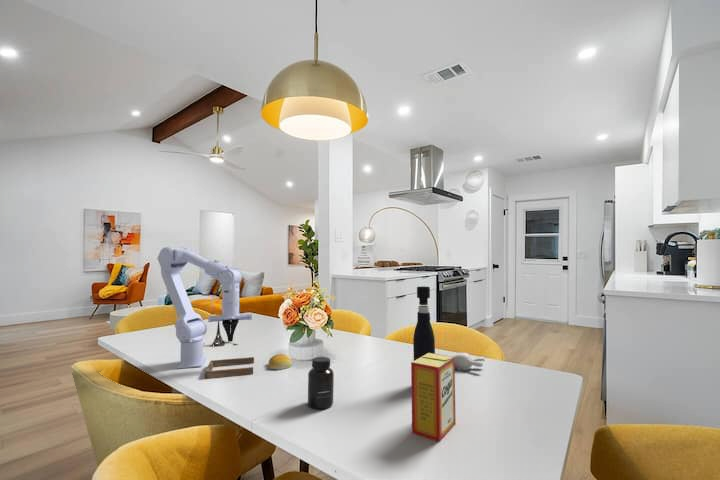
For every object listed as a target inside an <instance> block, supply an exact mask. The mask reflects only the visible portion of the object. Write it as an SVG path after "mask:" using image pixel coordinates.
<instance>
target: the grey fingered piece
mask: <svg viewBox="0 0 720 480" xmlns="http://www.w3.org/2000/svg"><path fill="white" fill-rule="evenodd" d="M445 355H446V356H451V357H454V362H455V370H458V371H468V370H469V369H470V368H472V366H474V367H481V368H482V367H484V364H483V363H484V362H485V357H483V356H478V357H473V358H472V357H471V355H470V354H469V353H467V352H458V353H455V354H449V353H446V354H445Z"/></svg>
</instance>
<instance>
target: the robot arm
mask: <svg viewBox="0 0 720 480" xmlns="http://www.w3.org/2000/svg"><path fill="white" fill-rule="evenodd" d="M157 261H158V264H159V267H160V274H161V277H162V281H163V282H164V285H165V287H166V291H167V293H168V295H169V298H170V300H171V302H172V305H173V308H174V310H175V313H176V315H177V317H178V318H177V319H176V322H174V327H175V336H176V338H177V339H178V341H179V343H180V363H179V364H178V366H177V369H186V368H187V369H188V368H199V367H202V366H203V364H204V363H205V361H206V357H204V355H203V354H204V353H203V351H204V349H203V348H204V345H203V344H204V342H203V339H204V335H206V334H207V331H208V325H207V323H206V321H205V320H203V317H202V316H201V314H199V313H197V312H195V311H194V308H193V306H192V303H191V300H190V299H189V296H188V293H187V290H186V288H185V286H184V284H183V281H182V278H181V276H180V273H181V271H182V270H183V269H184V268H185V267H186V265H187V264H188V263H190V264H191V265H194V266H196V267H199V268H200V269H202V270H204V271H203V272H204V273H205V274H206V275H208V276H209V277H212V278H214V279H216V280H217V281H218V282H219V284H220V285H221V290H222V293H221V295H222V296H221V297H222V301H221V302H222V304H221V305H222V306H221V308H222V309H221V312H222V313H221V314H217V315H215V314H214V315H209V316H208V318H207V319H208V321H207V322H208V323H212V322H218V321H219V322H221V325H222V327H223V328H224V330H225V331H224V332H225V333H226V336H227V337H226V338H227V342H230V343H233V341H234V334H235V331H236V328H237V326H238V324H239V321H246V320H248V321H251V320H253V313H240V284H241V282H242V280H243V278H244V276H243V273H242V271H241V270H240V269H239V268H231V266H230V265H225V264H223V263H221V262H220V260H219V259H211V260H208V259H206V258H204V257H203V256H201V255H199V254H197V253H196V252H194V251H193V250H191V249H188V248H187V247H167V246H165V247H163V248H161V249H160V251H159V253H158V255H157Z"/></svg>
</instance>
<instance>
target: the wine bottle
mask: <svg viewBox="0 0 720 480" xmlns="http://www.w3.org/2000/svg"><path fill="white" fill-rule="evenodd" d="M430 294H431V289H430V286H424V285H423V286H417V287H416V298H418V299H419V300H418V301H419V303H418V308H417V309H418V311H417V317H416V318H417V322H416V325H415V329H414V333H413V339H412V340H413V342H412V343H413V345H412V346H413V361H415V360H417V359H418V358H420V357H422V356H424V355H426V354H427V353H434V354H436V339H435V334H434V329H433V327H432V323H431V313H430V310H429V309H430V308H429V306H428V305H429V304H428V303H429V302H428V301H429V300H428V299H430V298H431V295H430Z"/></svg>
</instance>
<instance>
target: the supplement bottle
mask: <svg viewBox="0 0 720 480" xmlns="http://www.w3.org/2000/svg"><path fill="white" fill-rule="evenodd" d="M311 367H312V368H311V369H310V370H309V371H308V375H307V376H308V377H307V379H308V380H307V405H308V406H309V408H311V409H313V410H326V409H328V408H330V407H332V406H333V405H334V386H335V385H334V375H335V374H334V370H333V369H332V368H331V359H330V358H329V357H327V356H317V357H313V358H312V360H311Z"/></svg>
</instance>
